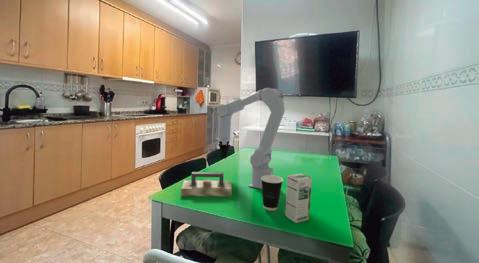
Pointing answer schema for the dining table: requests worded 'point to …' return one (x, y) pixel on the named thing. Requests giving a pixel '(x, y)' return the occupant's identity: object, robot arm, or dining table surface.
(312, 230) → the dining table surface
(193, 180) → the grey long bar
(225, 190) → the display stand
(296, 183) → the syrup box
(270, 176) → the dixie cup
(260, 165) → the robot arm
